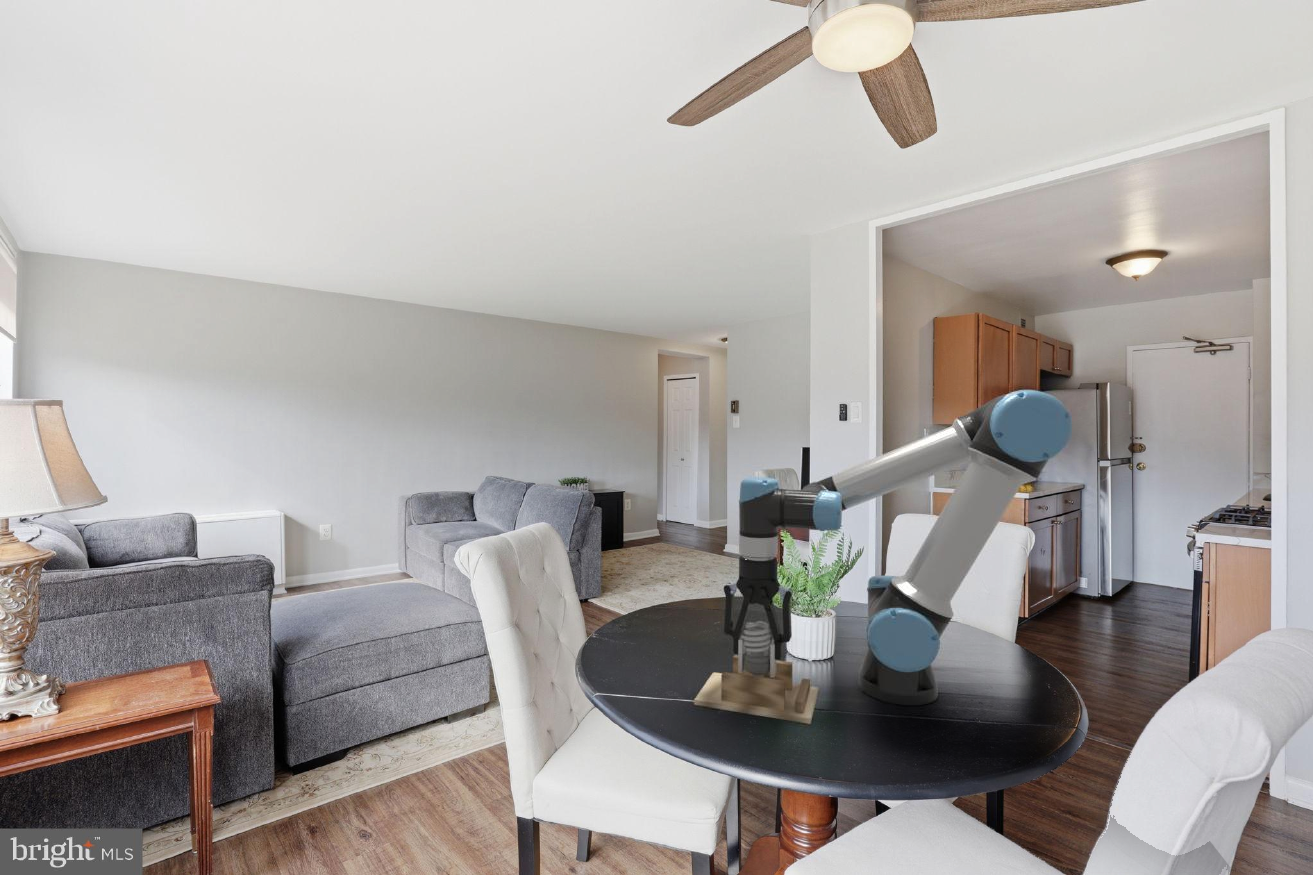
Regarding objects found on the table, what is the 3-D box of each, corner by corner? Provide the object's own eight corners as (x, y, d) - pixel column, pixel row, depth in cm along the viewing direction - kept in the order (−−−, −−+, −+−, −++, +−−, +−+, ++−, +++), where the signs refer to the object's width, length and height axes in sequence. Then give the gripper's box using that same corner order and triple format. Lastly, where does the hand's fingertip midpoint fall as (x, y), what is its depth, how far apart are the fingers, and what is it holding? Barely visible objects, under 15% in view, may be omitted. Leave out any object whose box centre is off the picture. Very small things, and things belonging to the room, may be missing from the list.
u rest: (818, 692, 125) (818, 662, 125) (810, 723, 112) (810, 691, 112) (713, 676, 133) (713, 649, 132) (694, 704, 119) (694, 674, 119)
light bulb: (768, 675, 125) (768, 616, 125) (774, 687, 119) (775, 626, 119) (740, 675, 125) (741, 617, 124) (745, 687, 119) (745, 626, 119)
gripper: (808, 556, 122) (807, 672, 122) (717, 549, 128) (716, 659, 129) (804, 564, 115) (802, 687, 115) (707, 556, 121) (706, 672, 122)
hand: (757, 672), depth 122 cm, fingers closed on light bulb, 6 cm apart
